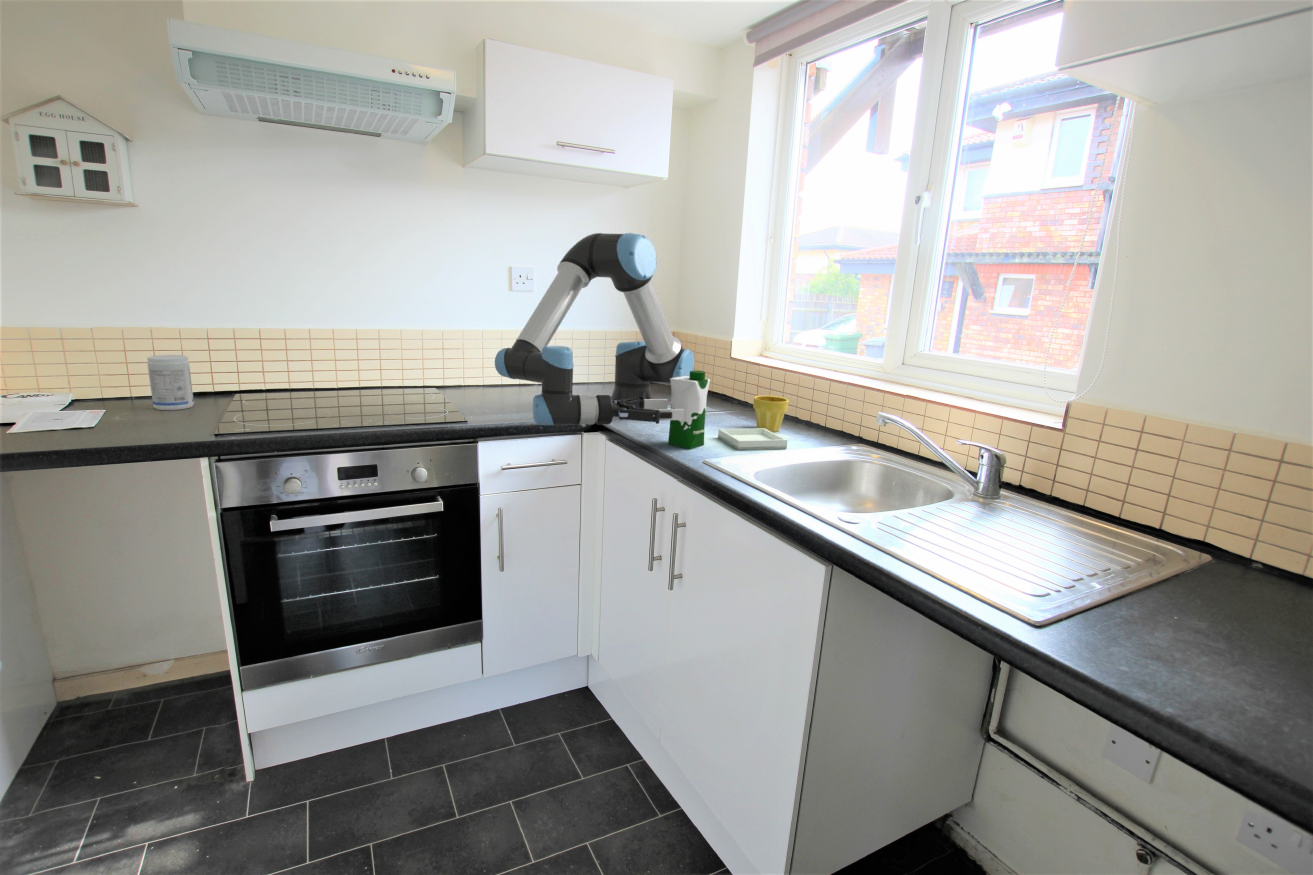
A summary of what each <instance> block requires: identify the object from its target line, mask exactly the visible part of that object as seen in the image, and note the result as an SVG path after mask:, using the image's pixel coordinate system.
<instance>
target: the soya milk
mask: <svg viewBox="0 0 1313 875" xmlns="http://www.w3.org/2000/svg"><path fill="white" fill-rule="evenodd" d="M670 381H671V385H670V389H671V391H670V392H671V396H670V398H671V399H670V400H671V401H670V409H684V419H683V420H669V431H668V440H667V442H668V443H667V445H668V446H673V447H678V448H682V449H686V450H693V449H696V448H700V447H702V446H704V445H705V425H706V424H705V423H706V411H707V400H708V399H707V398H708V397H707V396H708V391H709V387H710V382H711V379H710V378H706V371H701V370H693V371H690V376H683V377H676V378H670Z"/></svg>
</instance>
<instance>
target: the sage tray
mask: <svg viewBox="0 0 1313 875" xmlns="http://www.w3.org/2000/svg"><path fill="white" fill-rule="evenodd" d="M717 431H718V433H717V435H718V436H717V438H718V439H720V440H721V441H722V442H725V443H726V444H728V445H729V446H731V447H732V448H734V449H736V450H737V451H757V450H758V451H760V450H761V451H762V450H764V451H765V450H787V449H788V446H787V445H788V439H786V438H784V437H783V436H781V435H778V434H776V432H771V431H769V430H767V429H765V428H757V427H756V428H752V427H751V428H718V430H717Z"/></svg>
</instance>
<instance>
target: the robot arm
mask: <svg viewBox="0 0 1313 875" xmlns="http://www.w3.org/2000/svg"><path fill="white" fill-rule="evenodd" d="M656 258H657V252H656V249H655V246H654V244H653V243H652V241H651V240H650V239H649V238H648V237H647V236H645V235H643V234H639V233H634V232H627V233H603V232H598V233H597V232H596V233H592V234H588V235H586V236H585V237H583V238H581V239H580V240H579V241H578V242H576V243H575V244H574V245H573V246H571V248H569V250H567V252H566V253H565V255H564V256H563V257H562V259H561V260H560V262H559V263H558V265H557V268H556V271H557V274H556V276H555V277H554V279H553V280H552V282H551V283H550V285H549V287H548V288H547V290H546V291H545V293H544V295H543V296H542V298H541V300H540V301H539V303H538V304H537V306H536V308H534V311H533V312H532V314H531V315H530V317H529V319H528V320H527V322H526V324H525V325H524V327H523V329H522V330H521V331H520V333H519V335H518V337H517V338H516V339H515V342H514V343H513V345H512V346H511V347H507V348H506V347H505V348H502V349H500V350H498V352H497V353H496V356H495V357H494V367H495V370H496V371H497V373H498V375H500V376H501V377H505V378H508V379H511V380H520V381H528V382H533V383H539V384H541V393H540V394H536V395H534V396H533V399H532V417H533V421H534V423H535V424H536V425H540V426H541V425H544V426H553V427H554V426H567V425H569V426H570V425H571V426H574V425H576V426H577V425H580V426H581V427H583V428H584V427H586V426H587V425H594V424H596V425H611V423H612V422H613V418H614V417H617V418H618V419H619V420H621V421H638V422H650V423H655V424H660V421H670V420H683V419H684V409H671V408H668V406H669V405H668V404H669V403H668V402H669V401H668V398H665V399H664V398H656V399H655V398H654V399H653V396H652V392H651V383H654V384H659V385H665V386H666V385H667V386H671V381H670V378H676V377H683V376H690V371H694V368H695V367H694V366H695V365H694V364H695V356H694V353H693V351H692V350H690V349H688V348H685V349H684V348H683V345H682V343H681V341H680V339H679V338H678V337H675V336H673V333H672V331H671V328H670V325H669V323H668V321H667V318H666V314H665V313H664V310H663V307H662V304H661V302H660V299H659V297H658V294H657V292H656V290H655V287H654V284H653V281H652V280H653V278H654V275H655V272H656V269H657V260H656ZM595 278H596V279H597V278H609V279H610V280H611V282H612V284H613V287H614V289H615V290H616V291H618V292H620V293H623V295H624V298H625V299H626V303H627V305H628V307H629V309H630V311H631V314H632V315H633V316H632V317H633V318H634V321H635V323H636V325H637V327H638V328H637V329H639V332H640V335H641V337H642V339H643V340H637V341H635V340H634V341H625V342H623V341H622V342H619V343H618V344H617V345H616V349H615V355H614V357H615V361H614V362H615V366H614V389H613V391H612V394H611V395H610V394H597V395H596V396H595V395H594V394H573V382H574V381H573V380H574V359H573V350H572V348H570V347H568V346H563V345H549V344H550V342H551V340H552V338H554V335H555V333H556V332H557V330H558V328H559V327H560V325H561V324H562V323H563V320H564V319H565V317H566V315H567V314H568V312H569V310H570V309H571V307H572V305H573V303H574V302H575V301H576V298H577V297H578V295H579V294H580V292H581V291H582V289H585V288H587V287H588V286H589V284H590V282H592V281H593V279H595Z"/></svg>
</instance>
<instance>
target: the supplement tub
mask: <svg viewBox="0 0 1313 875" xmlns="http://www.w3.org/2000/svg"><path fill="white" fill-rule="evenodd" d="M146 359H147V369H148V370H147V371H148V377H149V384H150V385H149V386H150V392H151V399H152V406H153V408H154V409H155V410H160V411H177V410H179V411H180V410H181V411H182V410H186V409H190V408H192V407H193V406H194V404H195V403H194V402H195V401H194V400H195V399H194V393H193V384H192V376H191V369H190V360H189V357H188V356H187V355H183V354H160V355H159V354H158V355H151V356H148V357H147V358H146Z"/></svg>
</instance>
